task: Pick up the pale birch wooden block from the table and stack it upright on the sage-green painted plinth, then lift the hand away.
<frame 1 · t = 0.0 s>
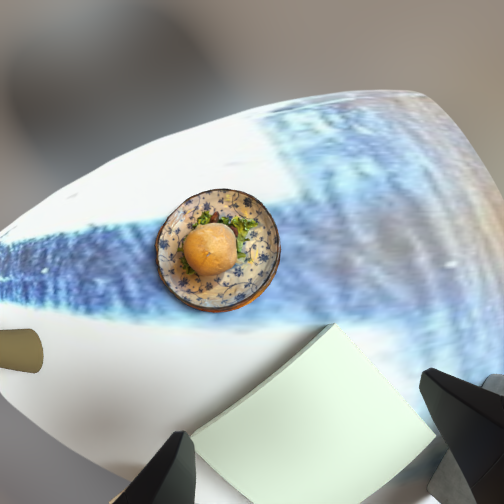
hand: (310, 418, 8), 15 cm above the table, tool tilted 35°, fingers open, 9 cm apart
hip flask: (464, 435, 17), on the table
burger: (218, 251, 26), on the table
plinth: (317, 440, 20), on the table
cork: (31, 351, 25), on the table
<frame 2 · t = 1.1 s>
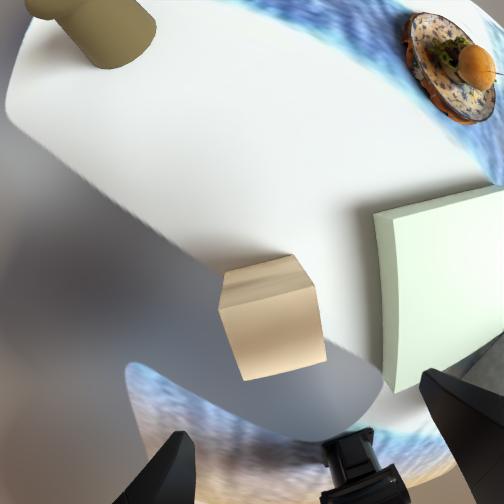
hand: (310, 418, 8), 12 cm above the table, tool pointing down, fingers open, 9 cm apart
hip flask: (490, 353, 24), on the table
birch block: (267, 294, 20), on the table
burger: (447, 68, 16), on the table
plinth: (450, 280, 20), on the table
cork: (122, 39, 14), on the table
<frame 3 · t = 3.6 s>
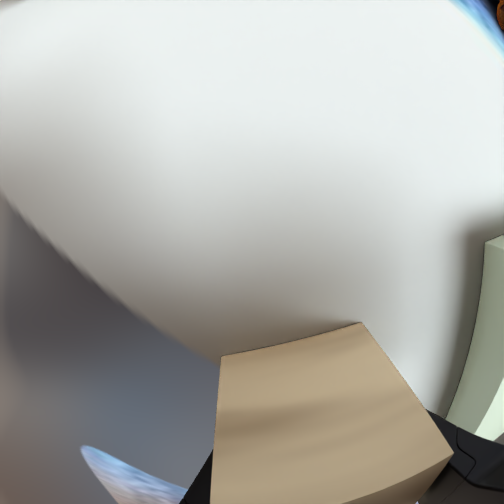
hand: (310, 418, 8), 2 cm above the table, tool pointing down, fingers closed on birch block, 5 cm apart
birch block: (302, 390, 9), on the table, touching gripper
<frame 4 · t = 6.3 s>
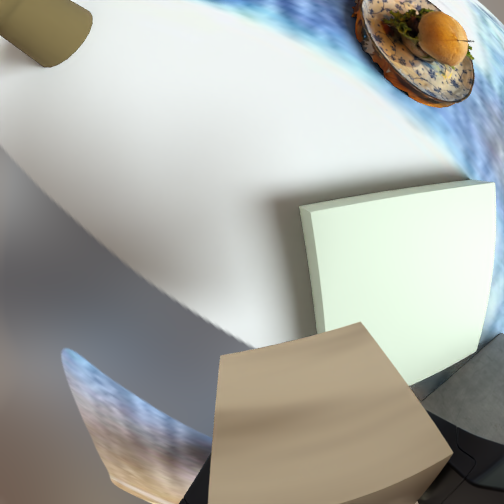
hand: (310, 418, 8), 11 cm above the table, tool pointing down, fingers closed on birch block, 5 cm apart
hip flask: (463, 371, 23), on the table
birch block: (301, 389, 9), point 9 cm above the table, touching gripper
burger: (413, 45, 14), on the table
plinth: (407, 289, 19), on the table
cork: (64, 37, 12), on the table
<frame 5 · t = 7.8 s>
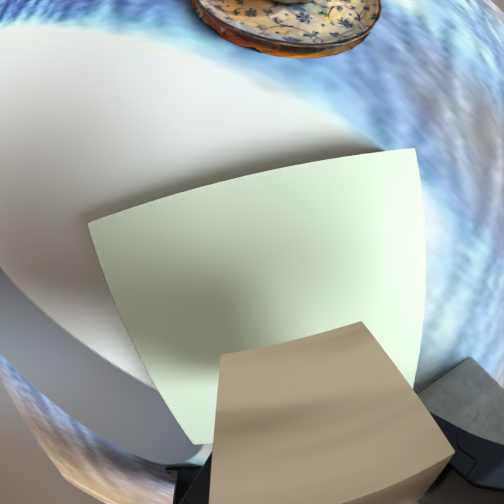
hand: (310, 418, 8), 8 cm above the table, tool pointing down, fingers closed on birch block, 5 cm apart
hip flask: (413, 404, 20), on the table
birch block: (302, 389, 9), point 7 cm above the table, touching gripper
plinth: (281, 311, 16), on the table
when the fingers open (6 cm above the table, at t = 9.1 s): birch block drops 1 cm, resting on plinth.
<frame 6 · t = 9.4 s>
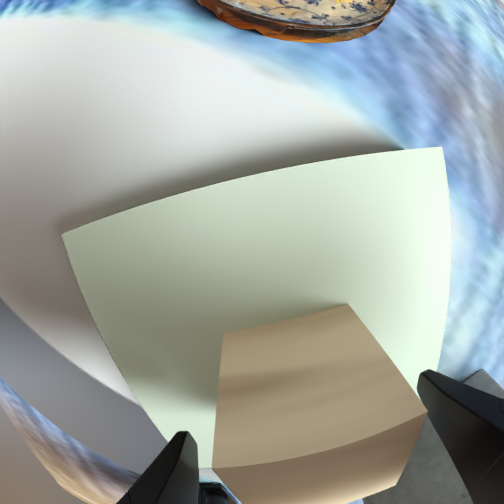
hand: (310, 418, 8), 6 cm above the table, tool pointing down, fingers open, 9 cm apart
hip flask: (422, 419, 18), on the table
birch block: (296, 367, 11), point 3 cm above the table, touching plinth
plinth: (286, 331, 14), on the table
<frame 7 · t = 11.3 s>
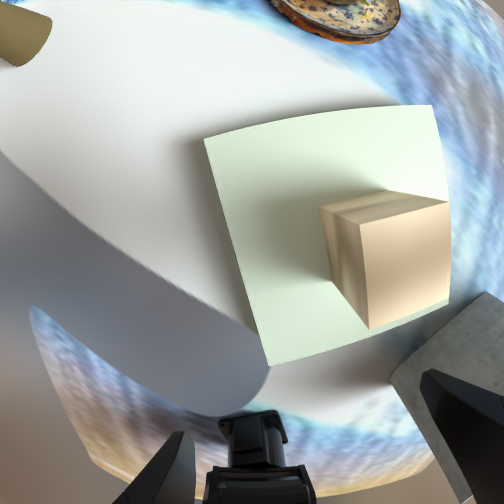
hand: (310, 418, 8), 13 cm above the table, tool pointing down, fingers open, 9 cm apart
hip flask: (444, 335, 23), on the table
birch block: (361, 235, 16), point 3 cm above the table, touching plinth
plinth: (345, 227, 19), on the table
cork: (31, 41, 13), on the table
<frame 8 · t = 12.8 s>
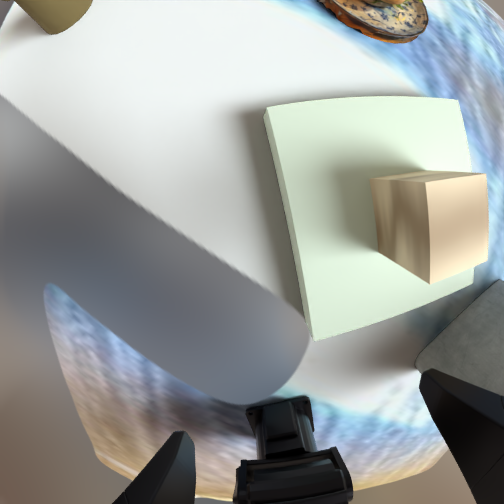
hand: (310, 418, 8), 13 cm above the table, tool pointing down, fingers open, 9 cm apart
hip flask: (464, 320, 23), on the table
birch block: (404, 210, 16), point 3 cm above the table, touching plinth
plinth: (384, 205, 19), on the table
cork: (69, 11, 13), on the table
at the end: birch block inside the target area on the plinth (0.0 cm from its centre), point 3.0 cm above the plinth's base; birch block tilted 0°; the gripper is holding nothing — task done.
